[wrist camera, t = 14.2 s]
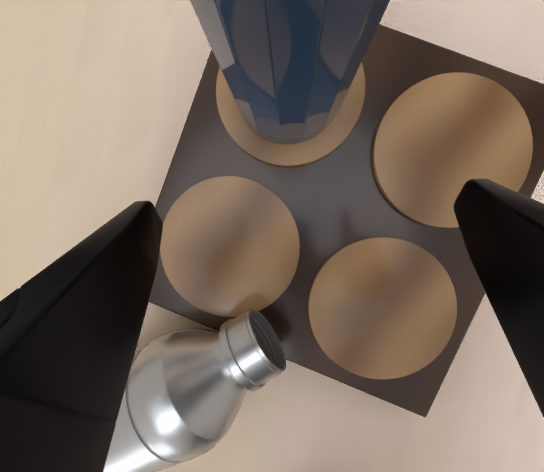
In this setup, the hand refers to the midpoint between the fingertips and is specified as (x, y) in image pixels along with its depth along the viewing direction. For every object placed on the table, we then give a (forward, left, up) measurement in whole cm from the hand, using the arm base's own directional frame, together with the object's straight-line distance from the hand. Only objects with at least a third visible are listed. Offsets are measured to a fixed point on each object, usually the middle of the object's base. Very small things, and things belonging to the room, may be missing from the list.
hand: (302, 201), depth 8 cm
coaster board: (-2, -1, -9) cm, 10 cm away
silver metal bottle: (+11, +23, -6) cm, 26 cm away
